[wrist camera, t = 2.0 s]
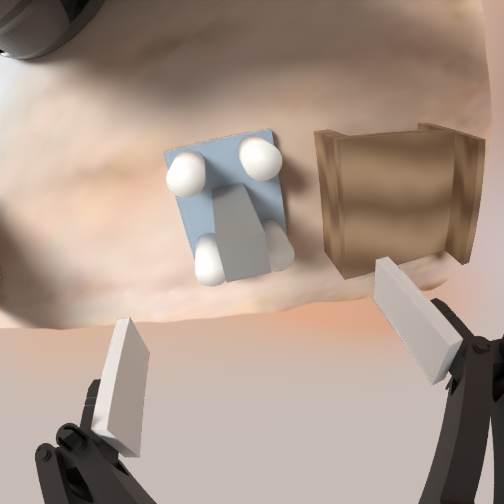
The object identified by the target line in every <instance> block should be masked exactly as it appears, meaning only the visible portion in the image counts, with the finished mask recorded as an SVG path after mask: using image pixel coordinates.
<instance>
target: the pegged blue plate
mask: <svg viewBox="0 0 504 504" xmlns="http://www.w3.org/2000/svg"><path fill="white" fill-rule="evenodd" d="M164 156H165V160H166V164H167V168H168V173H167V177H166V182H167V186H168V188H169V190H170V191H171V192H172V193H173V194H174V195H175V196H176V200H177V203H178V207H179V210H180V214H181V217H182V220H183V224H184V227H185V230H186V234H187V237H188V240H189V243H190V247H191V250H192V253H193V256H194V259H195V276H196V278H197V280H198V281H199V282H200V283H202V284H203V285H206V286H217V285H220V284H222V283H223V282H224V281H225V280H226V281H227V282H231V281H236V280H240V279H244V278H249V277H253V276H257V275H262V274H266V273H270V272H271V271H282V270H285V269H286V268H288V267H289V266H290V265H291V264H292V263H293V261H294V258H295V252H294V249H293V247H292V246H291V244H290V242H289V240H288V237H287V230H286V222H285V215H284V208H283V201H282V194H281V187H280V181H279V174H278V173H279V171H280V169H281V167H282V156H281V153H280V151H279V150H278V149H277V148H276V147H275V146H274V143H273V136H272V130H271V129H269V128H267V129H261V130H256V131H250V132H245V133H240V134H235V135H230V136H225V137H221V138H216V139H212V140H208V141H203V142H199V143H195V144H191V145H187V146H183V147H179V148H175V149H172V150H168V151H165V153H164Z"/></svg>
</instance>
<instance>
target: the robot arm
mask: <svg viewBox="0 0 504 504" xmlns="http://www.w3.org/2000/svg"><path fill="white" fill-rule="evenodd" d="M103 2H104V0H0V55H2V56H5V57H8V58H17V59H31V58H36V57H39V56H42V55H45V54H47V53H49V52H51V51H53V50H55V49H57V48H59V47H60V46H62V45H63V44H65V43H66V42H67V41H69V40H70V39H71V38H73V37H74V36H75V35H76V34H77V33H78V32H79V31H80V30H81V29H83V28H84V27H85V25H86V24H87V23H88V22H89V21H90V20H91V19H92V18H93V16H94V15H95V14H96V12H97V11H98V10H99V8H100V7H101V5H102V4H103ZM373 300H374V302H375V303H376V305H377V306H378V307H379V309H380V310H381V311H382V313H383V314H384V316H385V317H386V318H387V320H388V321H389V322H390V324H391V325H392V326H393V328H394V330H395V331H396V332H397V334H398V335H399V337H400V338H401V340H402V341H403V343H404V344H405V345H406V347H407V348H408V350H409V351H410V352H411V354H412V356H413V357H414V359H415V360H416V362H417V363H418V365H419V366H420V368H421V369H422V371H423V372H424V374H425V375H426V377H427V379H428V380H429V382H430V383H431V385H434V384H436V383H438V382H440V381H441V380H443V379H445V377H446V375H447V373H448V371H449V372H450V374H451V375H452V377H451V379H450V380H449V382H448V384H447V386H446V390H447V389H448V388H449V392H448V398H447V403H446V409H445V414H444V419H443V424H442V429H441V432H440V437H439V441H438V445H437V448H436V452H435V456H434V459H433V463H432V466H431V469H430V472H429V476H428V478H427V481H426V484H425V487H424V490H423V493H422V496H421V498H420V501H419V503H418V504H474V499H475V495H476V491H477V488H478V484H479V480H480V476H481V471H482V466H483V461H484V456H485V451H486V445H487V438H488V430H489V423H490V416H491V425H492V435H493V448H494V449H493V450H494V501H493V504H504V335H503V337H502V339H498V340H493V341H489V340H487V339H486V338H484V337H481V336H474V335H473V334H472V333H471V332H470V330H469V329H468V328H467V327H466V326H465V325H464V323H463V322H462V321H461V320H460V319H459V318H458V317H456V314H454V312H453V311H451V309H450V308H449V307H448V306H447V305H446V304H445V303H444V302H442V301H441V300H439V299H437V298H435V299H432V300H429V299H428V298H427V297H426V296H425V295H424V293H423V292H422V291H421V290H420V289H419V288H418V287H417V286H416V285H415V284H414V283H413V282H412V281H411V280H410V279H409V277H408V276H407V275H406V274H405V273H404V272H403V271H402V270H401V269H400V268H399V267H398V266H397V265H396V264H395V263H394V262H393V261H392V260H391V259H390V258H389V257H384V258H381V259H377V260H376V268H375V282H374V294H373ZM149 355H150V352H149V350H148V348H147V347H146V345H145V343H144V341H143V340H142V338H141V336H140V334H139V333H138V331H137V329H136V327H135V325H134V324H133V322H132V320H131V318H130V317H127V318H122V319H117V322H116V326H115V329H114V332H113V336H112V340H111V343H110V347H109V351H108V354H107V358H106V362H105V366H104V370H103V374H102V378H101V379H99V380H94V381H93V382H92V384H91V385H90V387H89V389H88V393H87V399H86V401H85V407H84V410H83V414H82V419H81V424H80V428H79V427H78V426H77V425H75V424H73V423H66V424H64V425H63V426H62V427H60V428H59V430H58V432H57V434H56V442H57V444H58V445H59V446H60V447H57V448H55V447H53V446H52V445H51V444H48V443H43V444H42V445H40V446H39V447H38V448H37V450H36V453H35V461H36V466H37V472H38V477H39V482H40V486H41V490H42V494H43V498H44V502H45V504H157V503H156V502H155V501H154V500H153V499H152V498H151V497H150V496H149V495H148V494H147V493H146V491H145V490H144V489H143V488H142V487H141V485H140V484H139V483H138V482H137V481H136V480H135V478H134V477H133V476H132V475H131V473H130V472H129V471H128V470H127V469H126V467H125V466H124V464H123V463H122V462H121V461H120V460H119V459H118V453H120V454H122V455H123V456H124V457H140V446H141V431H142V418H143V406H144V396H145V387H146V378H147V370H148V361H149Z"/></svg>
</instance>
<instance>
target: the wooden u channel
mask: <svg viewBox="0 0 504 504" xmlns="http://www.w3.org/2000/svg"><path fill="white" fill-rule="evenodd" d="M418 124H419V131H407V132H391V133H379V134H367V135H357V136H346V135H343V134H340V133H337V132H333V131H330V130H322V131H314V135H315V144H316V152H317V161H318V171H319V181H320V191H321V203H322V216H323V230H324V247H325V252H326V254H327V255H328V257H329V258H330V259H331V261H332V262H333V264H334V265H335V266H336V268H337V269H338V271H339V272H340V274H341V275H342V276H343V278H344V279H345V280H346V279H350V278H354V277H357V276H361V275H364V274H368V273H371V272H375V268H376V260H377V259H381V258H384V257H389V258H390V259H391V260H392V261H393V262H394V263H395V264H396V265H398V264H402V263H405V262H408V261H411V260H415V259H418V258H421V257H424V256H427V255H430V254H434V253H437V252H440V251H443V250H445V251H446V252H448V253H449V254H450V255H451V256H452V257H454V258H455V259H456V260H457V261H458V262H459V263H461V264H462V265H464V264H466V263H468V262H469V259H470V255H471V251H472V246H473V242H474V237H475V231H476V226H477V220H478V213H479V207H480V200H481V192H482V182H483V172H484V158H485V139H482V138H479V137H476V136H472V135H469V134H466V133H463V132H459V131H456V130H452V129H449V128H445V127H442V126H438V125H434V124H430V123H418Z"/></svg>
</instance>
